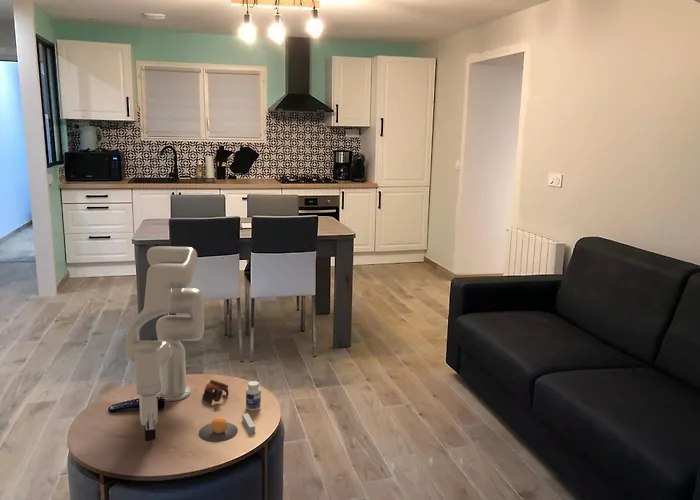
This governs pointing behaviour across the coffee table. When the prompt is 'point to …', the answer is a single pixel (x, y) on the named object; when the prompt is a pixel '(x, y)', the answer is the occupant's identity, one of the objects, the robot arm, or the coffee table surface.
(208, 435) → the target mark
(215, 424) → the ball
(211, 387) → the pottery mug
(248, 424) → the bar
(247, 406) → the pill bottle
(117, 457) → the coffee table surface
